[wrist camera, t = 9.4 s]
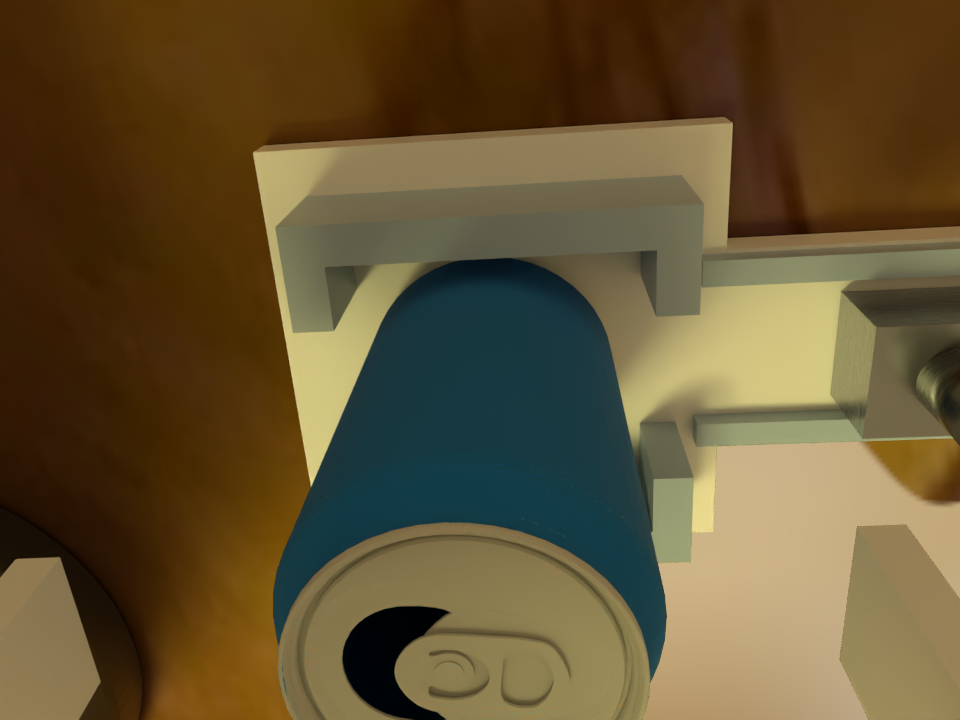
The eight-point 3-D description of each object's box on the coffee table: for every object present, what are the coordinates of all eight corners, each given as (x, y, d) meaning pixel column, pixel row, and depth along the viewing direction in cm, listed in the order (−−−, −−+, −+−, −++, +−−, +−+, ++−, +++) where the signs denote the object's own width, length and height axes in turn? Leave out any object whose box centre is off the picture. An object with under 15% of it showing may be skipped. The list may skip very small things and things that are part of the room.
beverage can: (375, 240, 23) (232, 489, 12) (622, 253, 22) (710, 519, 11) (378, 453, 25) (263, 817, 14) (598, 466, 25) (651, 846, 14)
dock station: (327, 523, 28) (296, 606, 24) (263, 145, 23) (213, 177, 19) (1025, 503, 26) (1106, 590, 22) (1116, 92, 21) (1239, 116, 18)
